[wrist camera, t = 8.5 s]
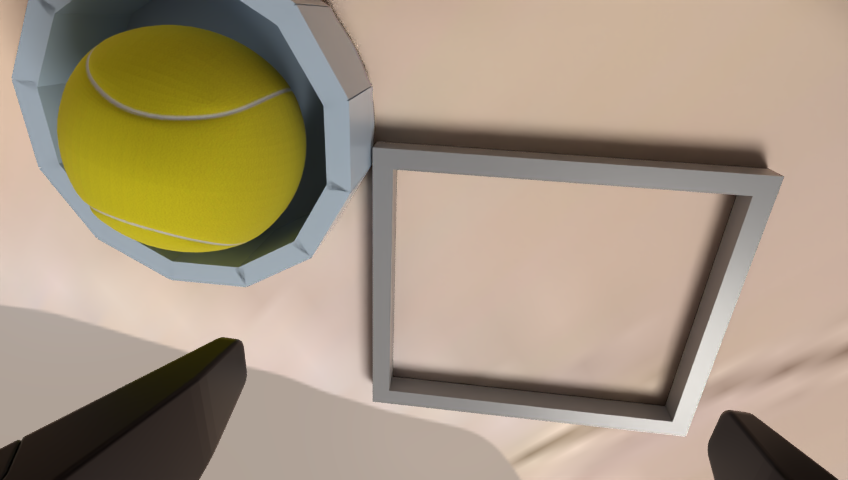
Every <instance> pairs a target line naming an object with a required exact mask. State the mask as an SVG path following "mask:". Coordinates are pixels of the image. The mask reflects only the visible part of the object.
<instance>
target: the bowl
mask: <svg viewBox="0 0 848 480" xmlns="http://www.w3.org/2000/svg"><path fill="white" fill-rule="evenodd" d="M155 25H182V26H191V27H196V28H201V29H205V30H209V31H212V32H216V33H219V34H221V35H224V36H226V37H229V38H231V39H233V40H235V41H237V42H239V43H241V44H243V45H245V46H246V47H248V48H250V49H251V50H253V51H254V52H255V53H257V54H258V55H260V56H261V57H262V58H264V59H265V60H266V61H267V62H268V63H270V64H271V65H272V66H273V67H274V68H275V69H276V70H277V71H278V72H279V73H280V75H281V76H282V77H283V78H284V79H285V80H286V82H287V83H288V85H289V86H290V88H291V90H292V91H293V93H294V95H295V97H296V99H297V101H298V104H299V106H300V109H301V113H302V116H303V120H304V125H305V132H306V158H305V165H304V170H303V174H302V177H301V180H300V183H299V186H298V188H297V190H296V193H295V195H294V197H293V198H292V200H291V202H290V203H289V205H288V207H287V208H286V209H285V210H284V212H283V213H282V214H281V215H280V217H279V218H278V219H277V220H276V221H275V222H274V223H273V224H272V225H271V226H270V227H269V228H268V229H267V230H265V231H264V232H263V233H262V234H260V235H259V236H258V237H256V238H254V239H252V240H250V241H248V242H246V243H244V244H241V245H238V246H235V247H231V248H227V249H223V250H218V251H210V252H179V251H171V250H166V249H161V248H157V247H153V246H149V245H146V244H143V243H141V242H138V241H136V240H133V239H131V238H129V237H127V236H125V235H123V234H121V233H119V232H118V231H116V230H114V229H113V228H111V227H110V226H108V225H106V224H105V223H103V222H102V221H101V220H100V219H98V218H97V217H96V216H95V215H94V214H93V213H92V211H91V209H90V206H89V205H88V204H87V203H85V202H84V201H83V200H82V199H81V198H80V196H79V195H78V194H77V193H76V191H75V189H74V188H73V186H72V184H71V182H70V180H69V178H68V176H67V173H66V171H65V168H64V165H63V162H62V159H61V155H60V150H59V145H58V136H57V118H58V111H59V106H60V102H61V98H62V94H63V91H64V88H65V86H66V83H67V81H68V79H69V77H70V75H71V74H72V72H73V71H74V69H75V67H76V66H77V65H78V63H79V62H80V61H81V59H82V58H83V57H84V56H85V55H86V54H87V53H88V52H89V51H90V50H91V49H93V48H94V47H95V46H97V45H98V44H100V43H101V42H102V41H104V40H105V39H107V38H109V37H111V36H113V35H116V34H119V33H122V32H125V31H128V30H132V29H136V28H141V27H146V26H155ZM12 82H13V85H14V88H15V91H16V95H17V98H18V101H19V105H20V108H21V111H22V114H23V118H24V121H25V124H26V127H27V131H28V134H29V137H30V141H31V144H32V147H33V150H34V154H35V157H36V160H37V163H38V167H41V168H40V170H41V171H42V172H43V174H44V175H45V176H46V177H47V178H48V180H49V181H50V182H51V183H52V185H53V186H54V187H55V188H56V189H57V191H58V192H59V193H60V194H61V195H62V197H63V198H64V199H65V200H66V201H67V203H68V204H69V205H70V206H71V208H72V209H73V210H74V211H75V212H76V214H77V215H78V216H79V217H80V218H81V220H82V221H83V222H84V223H85V225H86V226H87V227H88V228H89V229H90V231H91V232H92V233H93V234H94V235H95V237H96V238H97V237H98V239H99V240H101V241H102V242H104V243H106V244H108V245H109V246H111V247H113V248H115V249H117V250H118V251H120V252H122V253H124V254H126V255H127V256H129V257H131V258H133V259H134V260H136V261H138V262H140V263H142V264H143V265H145V266H147V267H149V268H150V269H152V270H154V271H156V272H158V273H159V274H161V275H163V276H165V277H166V278H168V279H171V280H177V281H188V282H198V283H209V284H219V285H230V286H240V287H246V286H247V287H248V286H250V285H252V284H254V283H257V282H259V281H261V280H263V279H266V278H268V277H270V276H272V275H274V274H277V273H279V272H281V271H283V270H285V269H288V268H290V267H292V266H294V265H297V264H299V263H301V262H303V261H305V260H308V259H310V258H311V257H312V256H313V255H314V253H315V252H316V251H317V249H318V248H319V246H320V245H321V244H322V242H323V241H324V239H325V238H326V236H327V235H328V234H329V232H330V231H331V229H332V228H333V227H334V225H335V224H336V222H337V221H338V219H339V218H340V216H341V215H342V213H343V211H344V210H345V208H346V206H347V205H348V203H349V201H350V200H351V198H352V196H353V195H354V193H355V192H356V190H357V189H358V187H359V185H360V183H361V182H362V180H363V178H364V177H365V175H366V174H367V172H368V170H369V169H370V167H371V165H372V163H373V144H374V133H375V113H374V102H373V86H372V84H371V82H370V80H369V78H368V76H367V73H366V70H365V67H364V64H363V62H362V60H361V58H360V55H359V53H358V51H357V49H356V47H355V45H354V43H353V42H352V40H351V38H350V37H349V35H348V33H347V32H346V30H345V28H344V27H343V26H342V25H341V23H340V22H339V21H338V19H337V18H336V16H335V14H334V12H333V10H332V8H331V7H330V6H329V5H327V4H326V3H325V2H323V1H322V0H28V4H27V8H26V13H25V18H24V23H23V27H22V32H21V37H20V41H19V46H18V51H17V56H16V60H15V65H14V70H13V74H12Z"/></svg>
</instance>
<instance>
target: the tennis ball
mask: <svg viewBox="0 0 848 480" xmlns="http://www.w3.org/2000/svg"><path fill="white" fill-rule="evenodd" d="M57 136H58V145H59V150H60V155H61V159H62V162H63V165H64V168H65V171H66V173H67V176H68V178H69V180H70V182H71V184H72V186H73V188H74V189H75V191H76V193H77V194H78V195H79V196H80V198H81V199H82V200H83V201H84V202H85V203H87V204H88V205H89V206H90V209H91V211H92V213H93V214H94V215H95V216H96V217H97V218H98V219H100V220H101V221H102V222H103V223H105V224H106V225H108V226H110V227H111V228H113V229H114V230H116V231H118V232H119V233H121V234H123V235H125V236H127V237H129V238H131V239H133V240H136V241H138V242H141V243H143V244H146V245H149V246H153V247H157V248H161V249H166V250H171V251H179V252H210V251H218V250H223V249H227V248H231V247H235V246H238V245H241V244H244V243H246V242H248V241H250V240H252V239H254V238H256V237H258V236H259V235H260V234H262V233H263V232H264V231H265V230H267V229H268V228H269V227H270V226H271V225H272V224H273V223H274V222H275V221H276V220H277V219H278V218H279V217H280V215H281V214H282V213H283V212H284V210H285V209H286V208H287V207H288V205H289V203H290V202H291V200H292V198H293V197H294V195H295V193H296V190H297V188H298V186H299V183H300V180H301V177H302V174H303V170H304V165H305V158H306V132H305V125H304V120H303V116H302V113H301V109H300V106H299V104H298V101H297V99H296V97H295V95H294V93H293V91H292V90H291V88H290V86H289V85H288V83H287V82H286V80H285V79H284V78H283V77H282V76H281V75H280V73H279V72H278V71H277V70H276V69H275V68H274V67H273V66H272V65H271V64H270V63H268V62H267V61H266V60H265V59H264V58H262V57H261V56H260V55H258V54H257V53H255V52H254V51H253V50H251V49H250V48H248V47H246V46H245V45H243V44H241V43H239V42H237V41H235V40H233V39H231V38H229V37H226V36H224V35H221V34H219V33H216V32H212V31H209V30H205V29H201V28H196V27H191V26H182V25H155V26H146V27H141V28H136V29H132V30H128V31H125V32H122V33H119V34H116V35H113V36H111V37H109V38H107V39H105V40H104V41H102V42H101V43H100V44H98V45H97V46H95V47H94V48H93V49H91V50H90V51H89V52H88V53H87V54H86V55H85V56H84V57H83V58H82V59H81V61H80V62H79V63H78V65H77V66H76V67H75V69H74V71H73V72H72V74H71V75H70V77H69V79H68V81H67V83H66V86H65V88H64V91H63V94H62V98H61V102H60V106H59V111H58V118H57Z"/></svg>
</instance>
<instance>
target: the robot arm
mask: <svg viewBox="0 0 848 480" xmlns="http://www.w3.org/2000/svg"><path fill="white" fill-rule="evenodd" d="M246 377H247V370H246V361H245V353H244V346H243V343H242V341H240V340H238V339H232V338H225V337H221V338H218V339H216V340H214V341H212V342H210V343H208V344H206V345H204V346H202V347H200V348H198V349H196V350H194V351H192V352H190V353H188V354H186V355H184V356H182V357H180V358H178V359H176V360H175V361H172V362H170V363H168V364H167V365H165V366H163V367H161V368H159V369H157V370H155V371H153V372H151V373H149V374H147V375H145V376H143V377H141V378H139V379H137V380H135V381H133V382H131V383H129V384H127V385H125V386H123V387H122V388H119V389H117V390H115V391H113V392H111V393H109V394H107V395H105V396H104V397H102V398H100V399H98V400H96V401H94V402H92V403H90V404H88V405H86V406H84V407H82V408H80V409H78V410H76V411H74V412H72V413H70V414H68V415H66V416H64V417H62V418H60V419H58V420H56V421H54V422H52V423H50V424H48V425H46V426H44V427H42V428H40V429H38V430H36V431H34V432H32V433H31V434H29V435H27V436H25V437H23V439H22V441H20V440H17V441H15V442H13V443H11V444H9V445H7V446H5V447H3V448H1V449H0V480H199V479H200V477H201V476H202V474H203V472H204V470H205V469H206V466H207V465H208V463H209V461H210V459H211V458H212V455H213V454H214V452H215V449H216V447H217V445H218V443H219V441H220V439H221V436H222V434H223V432H224V430H225V427H226V425H227V423H228V421H229V418H230V416H231V414H232V412H233V409H234V407H235V405H236V403H237V400H238V398H239V396H240V394H241V391H242V389H243V387H244V385H245V381H246ZM708 456H709V460H710V464H711V468H712V472H713V476H714V479H715V480H838V479H837V478H836V477H834V476H833V475H832V474H830V473H829V472H828V471H827V470H825V469H824V468H823V467H821V466H820V465H819V464H817V463H816V462H815V461H813V460H812V459H811V458H809V457H808V456H807V455H805V454H804V453H803V452H802V451H800V450H799V449H798V448H796V447H795V446H794V445H792V444H791V443H790V442H788V441H787V440H786V439H784V438H783V437H782V436H781V435H779V434H778V433H777V432H775V431H774V430H773V429H771V428H770V427H769V426H767V425H766V424H765V423H763V422H762V421H761V420H759V419H758V418H757V417H755V416H754V415H753V414H750V413H747V412H740V411H733V410H726V411H724V412H723V413H722V414H721V416H720V418H719V420H718V422H717V425H716V427H715V429H714V431H713V433H712V436H711V438H710V440H709V443H708Z"/></svg>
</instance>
